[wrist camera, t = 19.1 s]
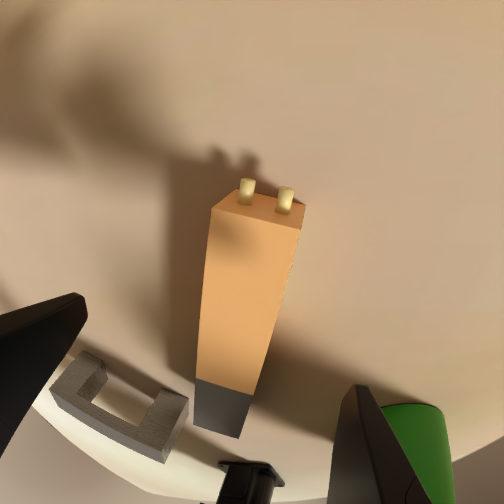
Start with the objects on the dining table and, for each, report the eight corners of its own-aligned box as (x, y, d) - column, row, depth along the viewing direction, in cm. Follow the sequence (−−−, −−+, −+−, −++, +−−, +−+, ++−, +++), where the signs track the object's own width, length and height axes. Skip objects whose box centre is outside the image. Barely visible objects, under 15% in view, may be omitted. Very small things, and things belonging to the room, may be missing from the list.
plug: (249, 404, 21) (238, 438, 18) (208, 391, 21) (193, 424, 18) (310, 184, 13) (307, 203, 10) (239, 168, 14) (215, 182, 10)
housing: (188, 415, 24) (164, 464, 18) (89, 369, 25) (58, 406, 20) (188, 398, 22) (161, 451, 17) (83, 350, 24) (48, 389, 19)
